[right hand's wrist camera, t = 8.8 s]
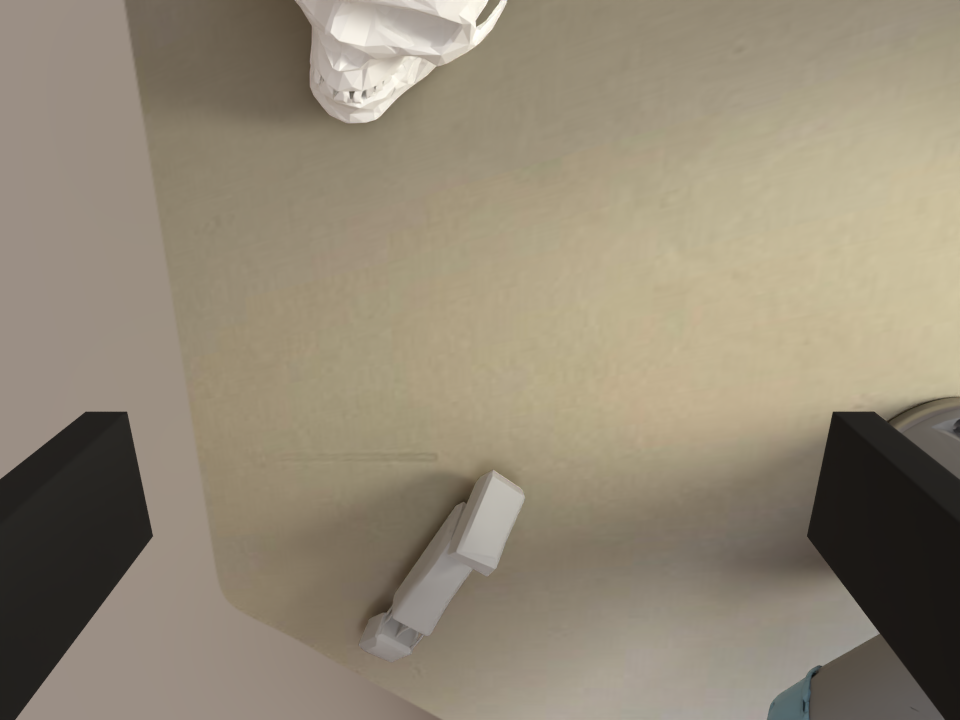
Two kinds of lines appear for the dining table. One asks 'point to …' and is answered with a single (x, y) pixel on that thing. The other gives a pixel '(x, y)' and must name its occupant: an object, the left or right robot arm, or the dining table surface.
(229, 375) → the dining table surface
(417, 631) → the clamp
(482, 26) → the skull
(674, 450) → the dining table surface
